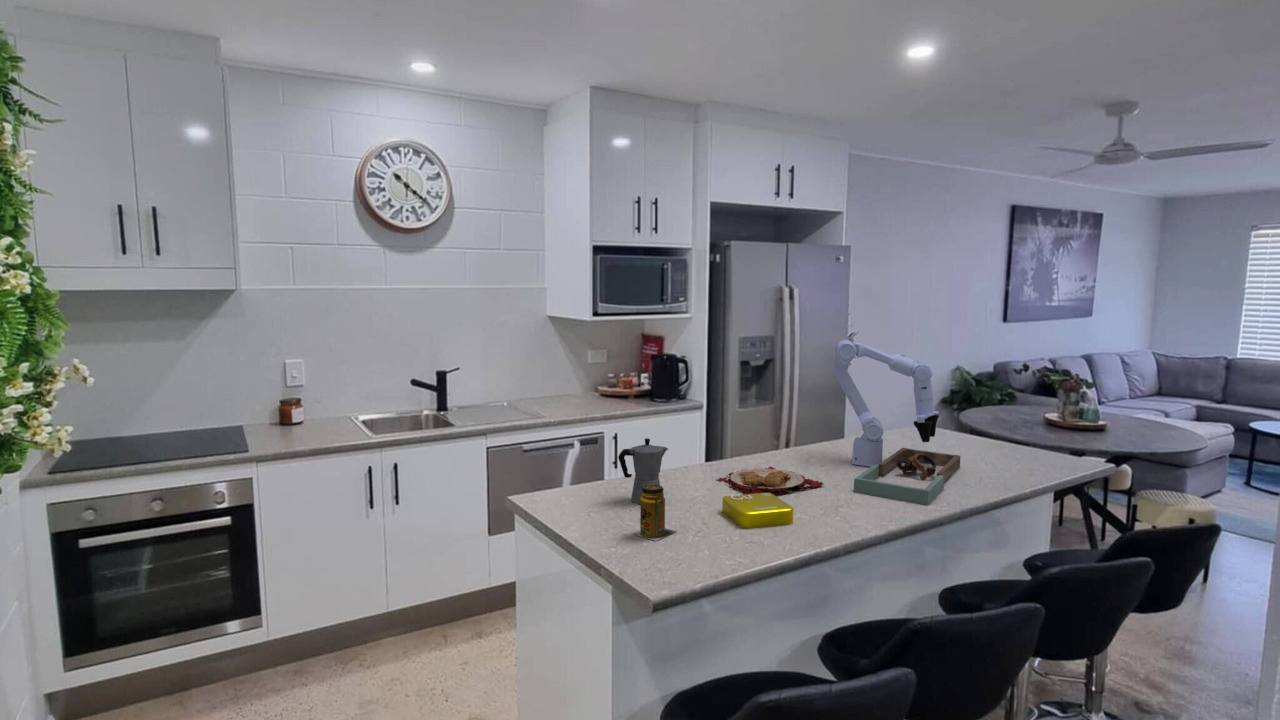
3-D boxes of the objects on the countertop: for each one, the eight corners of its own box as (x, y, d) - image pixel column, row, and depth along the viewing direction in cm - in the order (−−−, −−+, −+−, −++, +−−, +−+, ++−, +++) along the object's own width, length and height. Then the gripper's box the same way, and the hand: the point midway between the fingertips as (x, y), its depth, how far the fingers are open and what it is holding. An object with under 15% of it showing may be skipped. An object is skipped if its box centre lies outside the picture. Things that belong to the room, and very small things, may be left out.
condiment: (632, 534, 169) (633, 487, 168) (654, 525, 176) (654, 479, 174) (655, 541, 164) (656, 493, 163) (677, 532, 171) (677, 485, 170)
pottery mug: (922, 472, 228) (934, 454, 224) (930, 492, 220) (942, 474, 216) (888, 463, 228) (899, 445, 223) (895, 483, 220) (906, 464, 215)
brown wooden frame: (878, 476, 222) (879, 464, 221) (902, 458, 244) (902, 447, 244) (941, 486, 211) (942, 473, 210) (959, 467, 233) (960, 455, 233)
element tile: (742, 530, 173) (742, 512, 173) (719, 511, 188) (720, 494, 187) (796, 525, 177) (796, 507, 177) (769, 506, 192) (770, 490, 191)
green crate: (853, 491, 205) (854, 478, 205) (873, 477, 221) (874, 464, 220) (928, 505, 193) (928, 491, 192) (943, 488, 209) (944, 475, 208)
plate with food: (824, 489, 210) (825, 478, 210) (757, 500, 196) (758, 488, 196) (770, 471, 231) (771, 461, 231) (706, 480, 218) (707, 469, 217)
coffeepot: (659, 492, 203) (660, 433, 201) (675, 502, 194) (675, 439, 192) (611, 499, 196) (611, 437, 194) (625, 509, 188) (625, 445, 186)
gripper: (931, 403, 221) (936, 444, 222) (941, 394, 233) (946, 434, 234) (908, 403, 226) (913, 444, 227) (920, 395, 237) (924, 434, 238)
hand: (928, 439), depth 231 cm, fingers open, 7 cm apart
